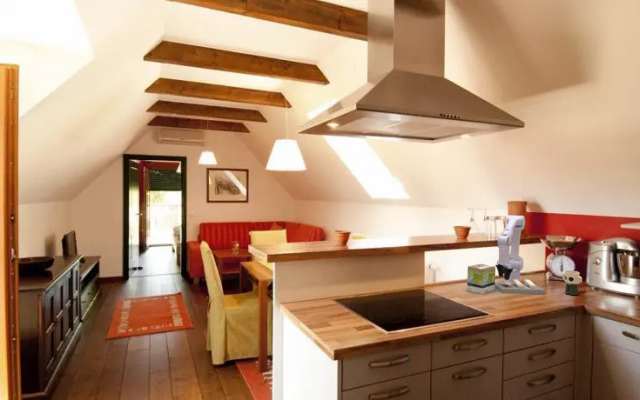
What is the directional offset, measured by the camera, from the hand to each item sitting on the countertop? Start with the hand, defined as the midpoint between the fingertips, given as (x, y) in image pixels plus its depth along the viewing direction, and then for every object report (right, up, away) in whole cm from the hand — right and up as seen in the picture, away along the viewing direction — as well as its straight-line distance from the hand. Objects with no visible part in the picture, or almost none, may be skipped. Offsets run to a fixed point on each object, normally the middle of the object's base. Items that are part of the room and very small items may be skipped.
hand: (503, 278), depth 213 cm
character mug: (+33, -7, -11) cm, 36 cm away
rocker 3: (+14, -3, -3) cm, 14 cm away
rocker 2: (+7, -3, -3) cm, 8 cm away
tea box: (-15, -7, -3) cm, 17 cm away
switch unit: (+7, -7, -3) cm, 10 cm away
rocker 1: (0, -3, -2) cm, 4 cm away
